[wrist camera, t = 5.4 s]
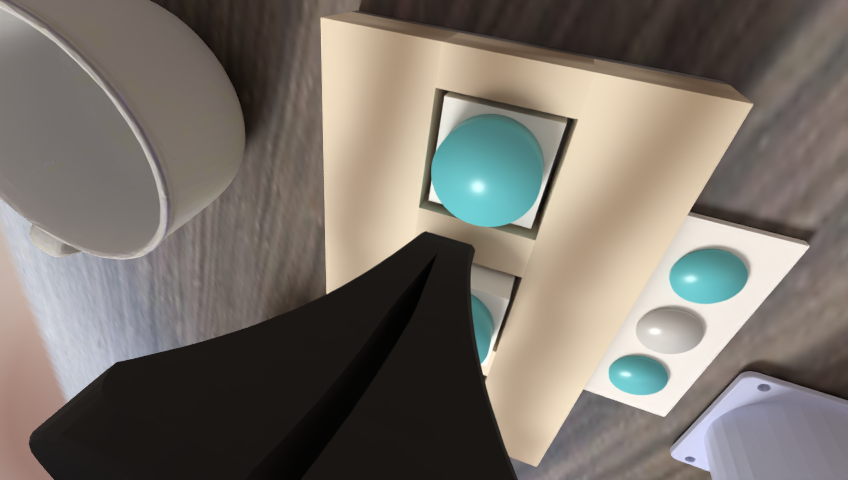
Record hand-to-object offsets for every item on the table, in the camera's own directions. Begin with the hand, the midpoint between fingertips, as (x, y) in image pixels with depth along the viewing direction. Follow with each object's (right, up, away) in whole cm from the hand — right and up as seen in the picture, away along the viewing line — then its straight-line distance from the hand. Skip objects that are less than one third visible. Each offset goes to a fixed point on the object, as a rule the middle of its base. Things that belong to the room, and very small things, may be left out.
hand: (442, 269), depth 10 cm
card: (+11, -3, +10) cm, 15 cm away
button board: (+2, -1, +11) cm, 12 cm away
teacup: (-14, +8, +13) cm, 20 cm away
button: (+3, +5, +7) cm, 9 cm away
